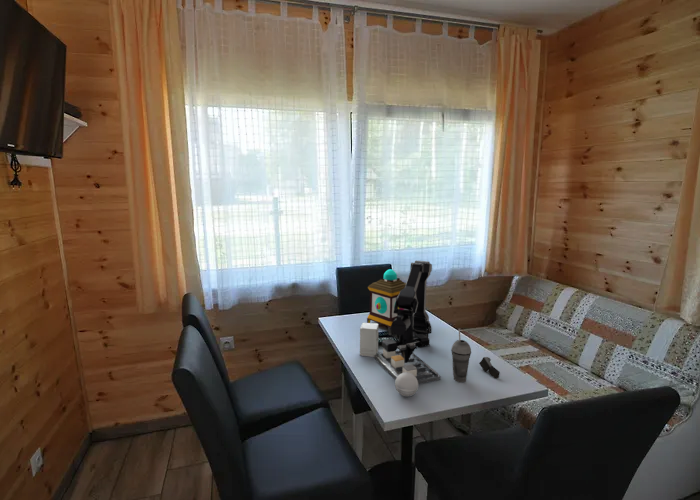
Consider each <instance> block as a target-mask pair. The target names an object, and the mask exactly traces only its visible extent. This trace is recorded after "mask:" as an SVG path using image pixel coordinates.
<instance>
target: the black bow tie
mask: <svg viewBox="0 0 700 500" xmlns="http://www.w3.org/2000/svg"><path fill="white" fill-rule="evenodd" d="M491 360H492V359H491V357H489V356H483V358H482V359H481V361H480V362H479V363H478V364H479V366H480V367H481V368H482V370H483V372H484V373H485V372H488V374H489V375H490V376H491V377H493V378H494V379H499V377H500V371H499V370H498V369H497V368H495V367H494V365H492V363H491Z"/></svg>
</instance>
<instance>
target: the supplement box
mask: <svg viewBox="0 0 700 500" xmlns="http://www.w3.org/2000/svg"><path fill="white" fill-rule="evenodd" d="M378 351H379V323H377V322H373V323H372V322H370V323H367V322H362V323H361V325H360V327H359V356H361V357H362V356H363V357H371V358H373V357H374V355H376V353H378Z"/></svg>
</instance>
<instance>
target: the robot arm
mask: <svg viewBox="0 0 700 500" xmlns="http://www.w3.org/2000/svg"><path fill="white" fill-rule="evenodd" d="M432 271H433V264H432V263H430V261H429V260H427V261H426V260H415V261H414V262H410V271H409V275H408V276H407V281H406V282H405V283H406V286H405V288H404V289H402V290H401V291H400V293H399V295H398V296H397V298H396V303H395V308H394V313H396V314H397V318H396V319H395V320H394V321H393V322H392V325H391V327H387V332H388V335H389V336H392V337H393V338H395V339H396V341H395V340H393V338H387V339H384V340H382V342H381V347H382V349H383V348H384V349H385V350H386V351H388V352H392V351H399V350H400V351H401V354H402V357H403V358H404V362H405V363H407V362H408V360H409V358H410V356H411V354H412V353H414V352H415V350H416V349H418V348H424V347H429V346H431V344H430V342H431V341H430V338H429V335H430V334H432V330H433V328H432V324H431V321H430V315H428V312H427V311H426V309H427V307H426V306H427V284H428V283H427V280H428V278H429V277H430V276H431V273H432ZM398 307H399V308H401V309H398ZM402 309H404V310H402Z"/></svg>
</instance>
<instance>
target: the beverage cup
mask: <svg viewBox="0 0 700 500" xmlns="http://www.w3.org/2000/svg"><path fill="white" fill-rule="evenodd" d="M460 329H461V328H458V340H456V341H454V342H453V344H452V346H451V349H450V351H451V356H452V359H451V360H452V375H453V380H454V381H455V382H457V383H466V380H467V376H468V370H469V364H470V358H471V355H472V347H471V346H470V344H469V343H468V342H467V340H463V339H461V330H460Z"/></svg>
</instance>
